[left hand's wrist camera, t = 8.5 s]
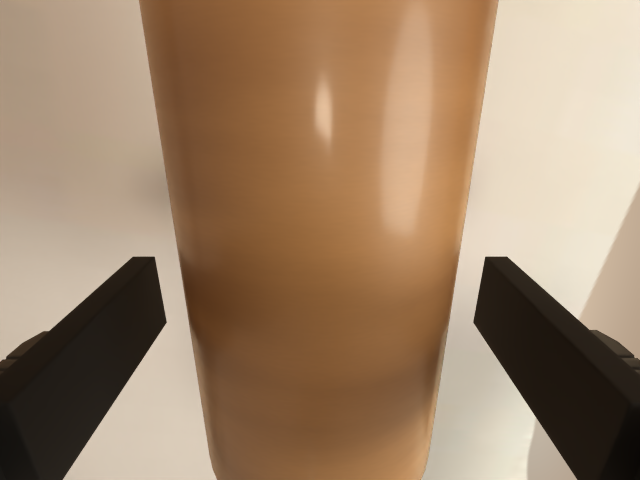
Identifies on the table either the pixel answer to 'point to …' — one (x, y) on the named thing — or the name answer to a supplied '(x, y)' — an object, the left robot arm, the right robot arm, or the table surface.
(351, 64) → the rod
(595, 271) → the table surface
